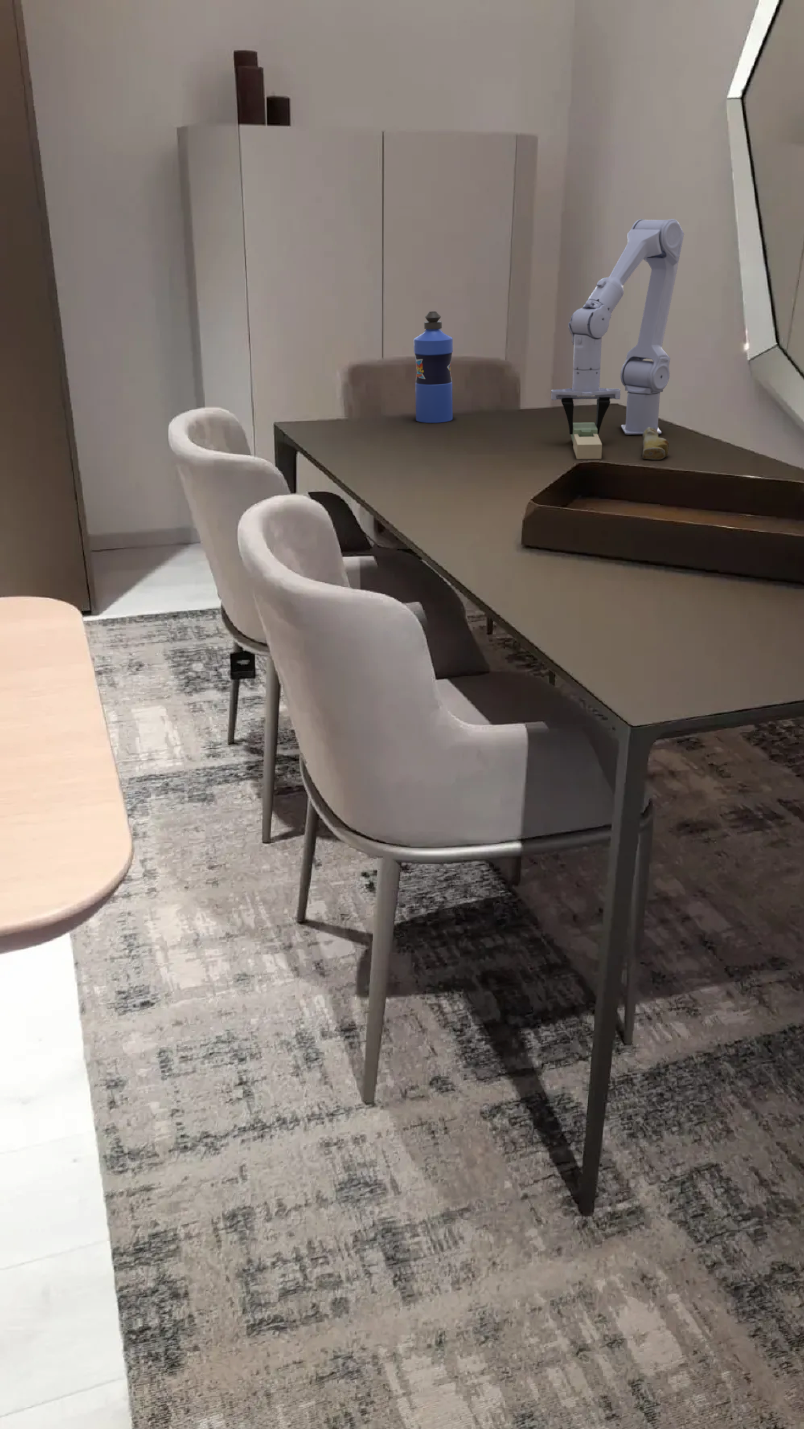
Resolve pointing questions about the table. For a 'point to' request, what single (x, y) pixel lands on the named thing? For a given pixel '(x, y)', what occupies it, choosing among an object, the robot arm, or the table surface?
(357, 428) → the table surface
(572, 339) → the robot arm
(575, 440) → the cream pad
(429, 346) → the water bottle
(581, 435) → the green notched block
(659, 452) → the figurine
